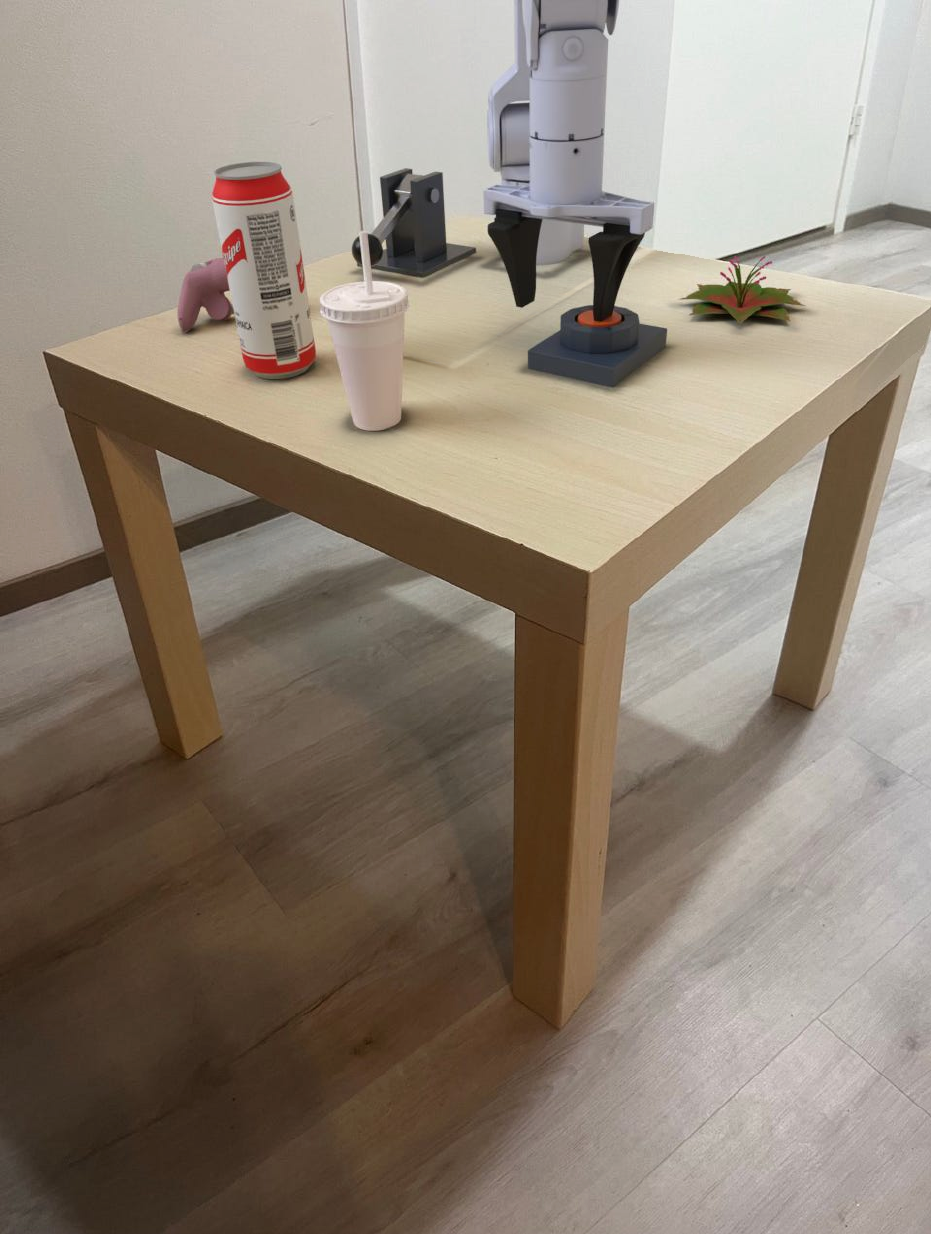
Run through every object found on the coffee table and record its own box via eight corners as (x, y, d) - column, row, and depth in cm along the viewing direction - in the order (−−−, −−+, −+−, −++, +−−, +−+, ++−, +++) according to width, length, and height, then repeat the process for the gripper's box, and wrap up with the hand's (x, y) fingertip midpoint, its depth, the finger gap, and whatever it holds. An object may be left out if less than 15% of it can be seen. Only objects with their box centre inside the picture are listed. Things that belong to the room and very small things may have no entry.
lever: (376, 275, 96) (365, 250, 93) (353, 271, 97) (341, 246, 95) (436, 199, 100) (426, 172, 97) (412, 195, 101) (402, 169, 99)
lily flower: (681, 285, 94) (686, 238, 91) (806, 291, 91) (815, 242, 88) (669, 328, 85) (674, 277, 82) (807, 335, 82) (817, 283, 79)
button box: (585, 331, 85) (586, 293, 83) (665, 347, 81) (669, 307, 79) (527, 369, 79) (527, 329, 77) (612, 388, 75) (614, 346, 73)
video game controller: (288, 335, 92) (286, 260, 91) (274, 329, 87) (272, 251, 86) (192, 335, 93) (188, 262, 92) (173, 330, 89) (169, 252, 87)
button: (590, 326, 81) (591, 306, 80) (627, 334, 79) (629, 313, 78) (569, 340, 79) (570, 320, 78) (607, 348, 77) (608, 327, 76)
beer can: (257, 388, 78) (219, 183, 68) (236, 363, 83) (197, 167, 73) (328, 372, 80) (299, 170, 71) (303, 349, 85) (274, 156, 75)
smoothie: (386, 445, 69) (365, 249, 60) (318, 428, 72) (289, 238, 63) (434, 412, 73) (421, 224, 64) (368, 396, 76) (348, 214, 67)
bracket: (423, 284, 98) (416, 189, 92) (357, 272, 102) (347, 181, 97) (476, 258, 104) (473, 168, 99) (412, 248, 109) (406, 161, 103)
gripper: (459, 137, 72) (466, 311, 80) (628, 152, 65) (617, 341, 74) (508, 121, 77) (510, 287, 85) (671, 133, 70) (657, 313, 78)
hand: (563, 311), depth 80 cm, fingers open, 7 cm apart
